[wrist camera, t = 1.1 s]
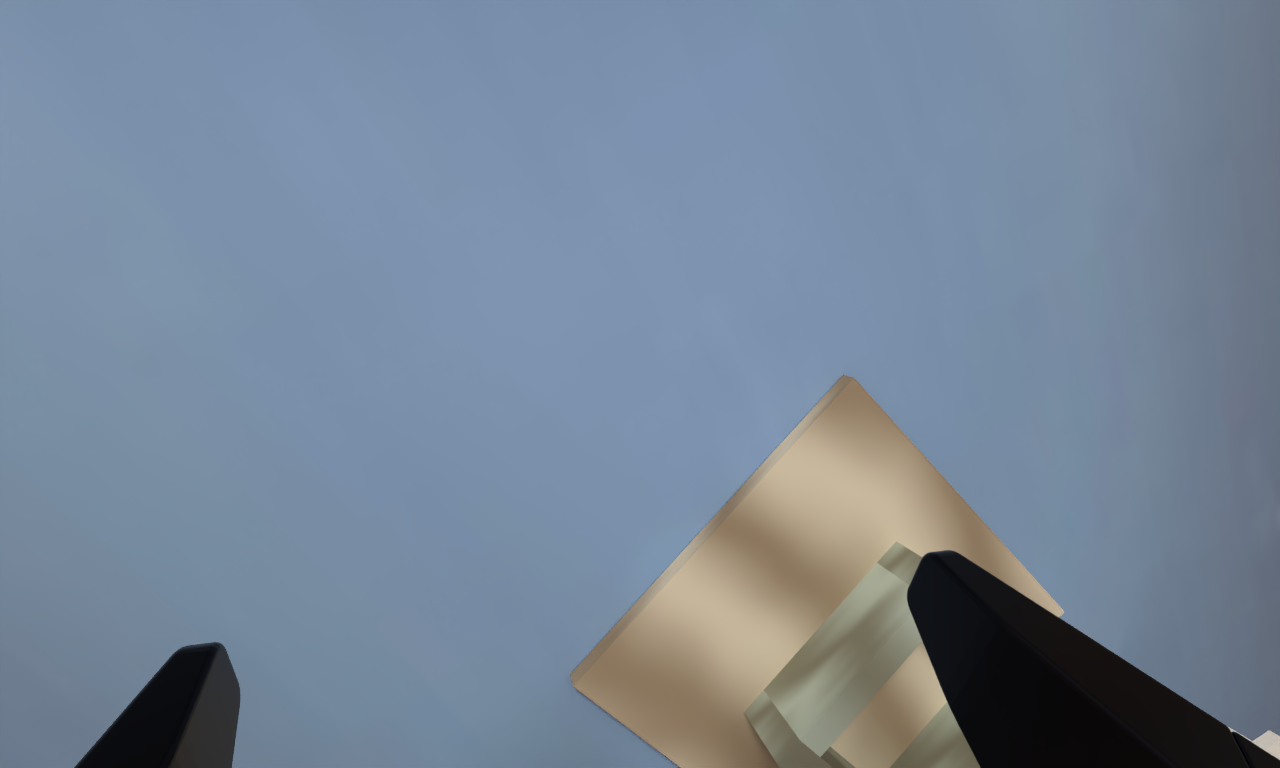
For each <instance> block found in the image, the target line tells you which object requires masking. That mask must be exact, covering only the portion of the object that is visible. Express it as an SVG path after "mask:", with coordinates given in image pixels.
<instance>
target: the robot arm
mask: <svg viewBox="0 0 1280 768" xmlns="http://www.w3.org/2000/svg"><path fill="white" fill-rule="evenodd" d="M907 602H908V606H909V609H910V612H911V614H912V617H913V619H914V622H915V624H916V627H917V629H918V632H919V634H920V637H921V639H922V642H923V644H924V647H925V649H926V651H927V654H928V656H929V659H930V661H931V664H932V666H933V669H934V671H935V674H936V676H937V679H938V681H939V684H940V686H941V689H942V691H943V693H944V696H945V698H946V700H947V702H948V705H949V707H950V709H951V711H952V713H953V715H954V717H955V719H956V721H957V723H958V725H959V727H960V729H961V731H962V733H963V735H964V737H965V739H966V741H967V743H968V745H969V747H970V749H971V751H972V752H973V754H974V756H975V758H976V760H977V762H978V764H979V766H980V768H1280V760H1279V759H1277V758H1276V757H1274V756H1273V755H1271V754H1269V753H1268V752H1266V751H1265V750H1263V749H1262V748H1260V747H1259V746H1257V745H1256V744H1254V743H1252V742H1251V741H1249V740H1248V739H1246V738H1245V737H1243V736H1242V735H1240V734H1239V733H1237V732H1231V731H1230V729H1229V728H1228V727H1227V726H1226V725H1224V724H1223V723H1221V722H1220V721H1218V720H1217V719H1215V718H1213V717H1212V716H1210V715H1209V714H1207V713H1206V712H1204V711H1203V710H1201V709H1200V708H1198V707H1196V706H1195V705H1193V704H1192V703H1190V702H1189V701H1187V700H1186V699H1184V698H1183V697H1181V696H1179V695H1178V694H1176V693H1175V692H1173V691H1172V690H1170V689H1169V688H1167V687H1166V686H1164V685H1162V684H1161V683H1159V682H1158V681H1156V680H1155V679H1153V678H1152V677H1150V676H1148V675H1147V674H1145V673H1144V672H1142V671H1141V670H1139V669H1138V668H1136V667H1135V666H1133V665H1131V664H1130V663H1128V662H1127V661H1125V660H1124V659H1122V658H1121V657H1119V656H1118V655H1116V654H1114V653H1113V652H1111V651H1110V650H1108V649H1107V648H1105V647H1104V646H1102V645H1101V644H1099V643H1097V642H1096V641H1094V640H1093V639H1091V638H1090V637H1088V636H1087V635H1085V634H1083V633H1082V632H1080V631H1079V630H1077V629H1076V628H1074V627H1073V626H1071V625H1070V624H1068V623H1066V622H1065V621H1063V620H1062V619H1060V618H1059V617H1057V616H1056V615H1054V614H1053V613H1051V612H1049V611H1048V610H1046V609H1045V608H1043V607H1042V606H1040V605H1039V604H1037V603H1035V602H1034V601H1032V600H1031V599H1029V598H1028V597H1026V596H1025V595H1023V594H1022V593H1020V592H1018V591H1017V590H1015V589H1014V588H1012V587H1011V586H1009V585H1008V584H1006V583H1005V582H1003V581H1001V580H1000V579H998V578H997V577H995V576H994V575H992V574H991V573H989V572H988V571H986V570H984V569H983V568H981V567H980V566H978V565H977V564H975V563H974V562H972V561H970V560H969V559H967V558H966V557H964V556H963V555H961V554H959V553H958V552H955V551H952V550H944V551H936V552H929V553H927V554H925V555H924V556H923V557H922V559H921V561H920V563H919V565H918V567H917V569H916V572H915V574H914V576H913V578H912V580H911V583H910V585H909V587H908V590H907ZM239 708H240V687H239V683H238V680H237V677H236V675H235V672H234V669H233V667H232V664H231V662H230V659H229V656H228V654H227V651H226V649H225V647H224V646H223V645H222V644H221V643H219V642H213V643H205V644H197V645H189V646H185V647H182V648H180V649H179V650H177V651H176V652H175V653H174V654H173V655H172V656H171V657H170V658H169V659H168V660H167V662H166V663H165V664H164V665H163V666H162V667H161V669H160V670H159V671H158V672H157V673H156V674H155V675H154V677H153V678H152V679H151V680H150V681H149V682H148V683H147V685H146V686H145V687H144V688H143V689H142V690H141V692H140V693H139V694H138V695H137V696H136V697H135V698H134V700H133V701H132V702H131V703H130V704H129V705H128V706H127V708H126V709H125V710H124V711H123V712H122V713H121V715H120V716H119V717H118V718H117V719H116V720H115V721H114V723H113V724H112V725H111V726H110V727H109V728H108V729H107V731H106V732H105V733H104V734H103V735H102V736H101V738H100V739H99V740H98V741H97V742H96V743H95V744H94V746H93V747H92V748H91V749H90V750H89V751H88V752H87V754H86V755H85V756H84V757H83V758H82V759H81V761H80V762H79V763H78V764H77V765H76V766H75V767H74V768H232V761H233V753H234V746H235V738H236V731H237V723H238V715H239Z"/></svg>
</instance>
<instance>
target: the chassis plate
mask: <svg viewBox="0 0 1280 768" xmlns="http://www.w3.org/2000/svg"><path fill="white" fill-rule="evenodd" d="M944 550H952V551H955V552H958V553H959V554H961V555H963V556H964V557H966V558H967V559H969V560H970V561H972V562H974V563H975V564H977V565H978V566H980V567H981V568H983V569H984V570H986V571H988V572H989V573H991V574H992V575H994V576H995V577H997V578H998V579H1000V580H1001V581H1003V582H1005V583H1006V584H1008V585H1009V586H1011V587H1012V588H1014V589H1015V590H1017V591H1018V592H1020V593H1022V594H1023V595H1025V596H1026V597H1028V598H1029V599H1031V600H1032V601H1034V602H1035V603H1037V604H1039V605H1040V606H1042V607H1043V608H1045V609H1046V610H1048V611H1049V612H1051V613H1053V614H1054V615H1056V616H1057V617H1060V616H1061V615H1062V614H1063V613H1064V611H1063V610H1062V608H1061V607H1060V606H1059V605H1058V604H1057V603H1056V602H1055V601H1054V600H1053V598H1052V597H1051V596H1050V595H1049V594H1048V593H1047V592H1046V591H1045V590H1044V588H1043V587H1042V586H1041V585H1040V584H1039V583H1038V582H1037V581H1036V580H1035V578H1034V577H1033V576H1032V575H1031V574H1030V573H1029V572H1028V571H1027V570H1026V568H1025V567H1024V566H1023V565H1022V564H1021V563H1020V562H1019V561H1018V560H1017V558H1016V557H1015V556H1014V555H1013V554H1012V553H1011V552H1010V551H1009V550H1008V548H1007V547H1006V546H1005V545H1004V544H1003V543H1002V542H1001V541H1000V540H999V538H998V537H997V536H996V535H995V534H994V533H993V532H992V531H991V530H990V528H989V527H988V526H987V525H986V524H985V523H984V522H983V521H982V520H981V518H980V517H979V516H978V515H977V514H976V513H975V512H974V511H973V510H972V508H971V507H970V506H969V505H968V504H967V503H966V502H965V501H964V500H963V498H962V497H961V496H960V495H959V494H958V493H957V492H956V491H955V490H954V488H953V487H952V486H951V485H950V484H949V483H948V482H947V481H946V480H945V478H944V477H943V476H942V475H941V474H940V473H939V472H938V471H937V470H936V468H935V467H934V466H933V465H932V464H931V463H930V462H929V461H928V460H927V458H926V457H925V456H924V455H923V454H922V453H921V452H920V451H919V450H918V448H917V447H916V446H915V445H914V444H913V443H912V442H911V441H910V440H909V438H908V437H907V436H906V435H905V434H904V433H903V432H902V431H901V430H900V428H899V427H898V426H897V425H896V424H895V423H894V422H893V421H892V420H891V418H890V417H889V416H888V415H887V414H886V413H885V412H884V411H883V410H882V408H881V407H880V406H879V405H878V404H877V403H876V402H875V401H874V400H873V398H872V397H871V396H870V395H869V394H868V393H867V392H866V391H865V390H864V388H863V387H862V386H861V385H860V384H859V383H858V382H857V381H856V380H855V378H853V377H849V376H845V375H843V376H842V377H841V378H840V379H839V380H838V381H837V382H836V384H835V385H834V386H833V387H832V388H831V389H830V390H829V391H828V392H827V393H826V395H825V396H824V397H823V398H822V399H821V400H820V401H819V402H818V403H817V404H816V406H815V407H814V408H813V409H812V410H811V411H810V412H809V413H808V414H807V415H806V416H805V418H804V419H803V420H802V421H801V422H800V423H799V424H798V425H797V426H796V427H795V429H794V430H793V431H792V432H791V433H790V434H789V435H788V436H787V437H786V438H785V440H784V441H783V442H782V443H781V444H780V445H779V446H778V447H777V448H776V449H775V450H774V452H773V453H772V454H771V455H770V456H769V457H768V458H767V459H766V460H765V461H764V463H763V464H762V465H761V466H760V467H759V468H758V469H757V470H756V471H755V472H754V474H753V475H752V476H751V477H750V478H749V479H748V480H747V481H746V482H745V483H744V485H743V486H742V487H741V488H740V489H739V490H738V491H737V492H736V493H735V494H734V495H733V497H732V498H731V499H730V500H729V501H728V502H727V503H726V504H725V505H724V506H723V508H722V509H721V510H720V511H719V512H718V513H717V514H716V515H715V516H714V517H713V519H712V520H711V521H710V522H709V523H708V524H707V525H706V526H705V527H704V528H703V529H702V531H701V532H700V533H699V534H698V535H697V536H696V537H695V538H694V539H693V540H692V542H691V543H690V544H689V545H688V546H687V547H686V548H685V549H684V550H683V551H682V553H681V554H680V555H679V556H678V557H677V558H676V559H675V560H674V561H673V562H672V563H671V565H670V566H669V567H668V568H667V569H666V570H665V571H664V572H663V573H662V574H661V576H660V577H659V578H658V579H657V580H656V581H655V582H654V583H653V584H652V585H651V587H650V588H649V589H648V590H647V591H646V592H645V593H644V594H643V595H642V596H641V597H640V599H639V600H638V601H637V602H636V603H635V604H634V605H633V606H632V607H631V608H630V610H629V611H628V612H627V613H626V614H625V615H624V616H623V617H622V618H621V619H620V621H619V622H618V623H617V624H616V625H615V626H614V627H613V628H612V629H611V630H610V631H609V633H608V634H607V635H606V636H605V637H604V638H603V639H602V640H601V641H600V642H599V644H598V645H597V646H596V647H595V648H594V649H593V650H592V651H591V652H590V653H589V655H588V656H587V657H586V658H585V659H584V660H583V661H582V662H581V663H580V664H579V665H578V667H577V668H576V669H575V670H574V671H573V672H572V673H571V674H570V676H571V680H572V683H573V687H575V688H576V689H577V690H579V691H580V692H581V693H583V694H584V695H585V696H587V697H588V698H589V699H591V700H592V701H593V702H595V703H596V704H597V705H599V706H600V707H601V708H603V709H604V710H605V711H606V712H608V713H609V714H610V715H612V716H613V717H614V718H616V719H617V720H618V721H620V722H621V723H622V724H624V725H625V726H626V727H628V728H629V729H630V730H632V731H633V732H634V733H636V734H637V735H638V736H640V737H641V738H642V739H644V740H645V741H646V742H648V743H649V744H650V745H652V746H653V747H654V748H655V749H657V750H658V751H659V752H661V753H662V754H663V755H665V756H666V757H667V758H669V759H670V760H671V761H673V762H674V763H675V764H677V765H678V766H679V767H681V768H980V766H979V764H978V762H977V760H976V758H975V756H974V754H973V752H972V751H971V749H970V747H969V745H968V743H967V741H966V739H965V737H964V735H963V733H962V731H961V729H960V727H959V725H958V723H957V721H956V719H955V717H954V715H953V713H952V711H951V709H950V707H949V705H948V702H947V700H946V698H945V696H944V693H943V691H942V689H941V686H940V684H939V681H938V679H937V676H936V674H935V671H934V669H933V666H932V664H931V661H930V659H929V656H928V654H927V651H926V649H925V647H924V644H923V642H922V639H921V637H920V634H919V632H918V629H917V627H916V624H915V622H914V619H913V617H912V614H911V612H910V609H909V606H908V602H907V590H908V587H909V585H910V583H911V580H912V578H913V576H914V574H915V572H916V569H917V567H918V565H919V563H920V561H921V559H922V557H923V556H924V555H925V554H927V553H929V552H936V551H944Z"/></svg>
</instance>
